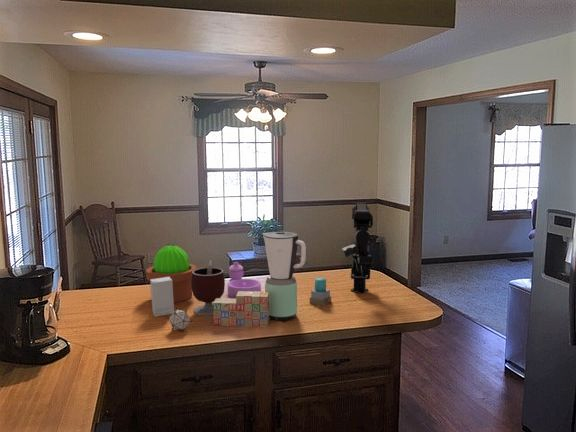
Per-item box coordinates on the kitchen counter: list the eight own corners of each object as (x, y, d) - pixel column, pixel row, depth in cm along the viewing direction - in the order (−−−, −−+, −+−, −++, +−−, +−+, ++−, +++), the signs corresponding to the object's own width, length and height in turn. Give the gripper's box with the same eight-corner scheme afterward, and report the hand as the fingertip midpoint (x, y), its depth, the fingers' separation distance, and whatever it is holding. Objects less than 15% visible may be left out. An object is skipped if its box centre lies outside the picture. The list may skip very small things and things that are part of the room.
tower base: (317, 300, 224) (317, 293, 223) (331, 302, 220) (331, 296, 219) (309, 304, 218) (309, 297, 217) (323, 306, 214) (323, 300, 214)
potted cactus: (181, 307, 213) (179, 250, 209) (138, 301, 220) (135, 247, 216) (205, 292, 233) (204, 240, 230) (165, 288, 240) (163, 238, 237)
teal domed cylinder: (318, 288, 221) (318, 277, 221) (328, 290, 218) (328, 279, 218) (312, 290, 217) (312, 279, 217) (322, 292, 214) (322, 281, 214)
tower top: (318, 294, 223) (318, 287, 222) (329, 296, 219) (329, 289, 218) (311, 297, 218) (311, 290, 217) (322, 299, 214) (322, 293, 214)
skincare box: (171, 310, 209) (170, 276, 207) (174, 314, 204) (173, 279, 202) (151, 312, 206) (149, 278, 203) (154, 317, 200) (152, 282, 198)
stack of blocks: (213, 325, 191) (212, 295, 190) (216, 320, 198) (215, 290, 196) (267, 327, 190) (267, 296, 188) (269, 321, 196) (269, 291, 194)
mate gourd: (222, 316, 202) (221, 268, 199) (189, 316, 202) (187, 268, 199) (227, 304, 217) (227, 259, 214) (196, 303, 217) (195, 259, 214)
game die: (176, 338, 189) (169, 313, 192) (197, 329, 189) (190, 305, 193) (168, 334, 180) (161, 309, 184) (190, 326, 181) (182, 301, 184)
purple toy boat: (265, 299, 223) (265, 271, 221) (232, 303, 218) (232, 274, 216) (249, 285, 246) (248, 259, 244) (219, 288, 241) (218, 262, 239)
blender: (255, 318, 198) (254, 233, 193) (269, 308, 211) (269, 228, 205) (299, 325, 191) (299, 237, 186) (311, 314, 203) (311, 231, 198)
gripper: (339, 235, 223) (339, 269, 225) (348, 244, 205) (347, 280, 207) (363, 235, 224) (363, 268, 226) (374, 243, 206) (373, 279, 208)
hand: (361, 274), depth 217 cm, fingers open, 9 cm apart
